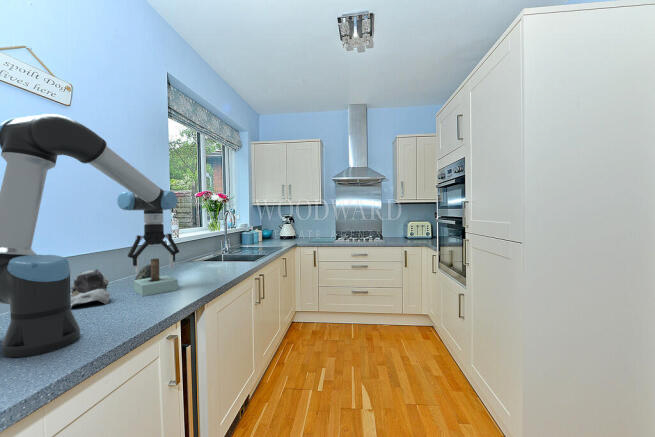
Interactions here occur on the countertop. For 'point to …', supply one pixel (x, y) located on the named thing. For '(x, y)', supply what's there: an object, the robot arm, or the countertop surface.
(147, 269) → the rock
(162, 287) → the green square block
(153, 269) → the dowel
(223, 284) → the countertop surface
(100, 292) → the stone
